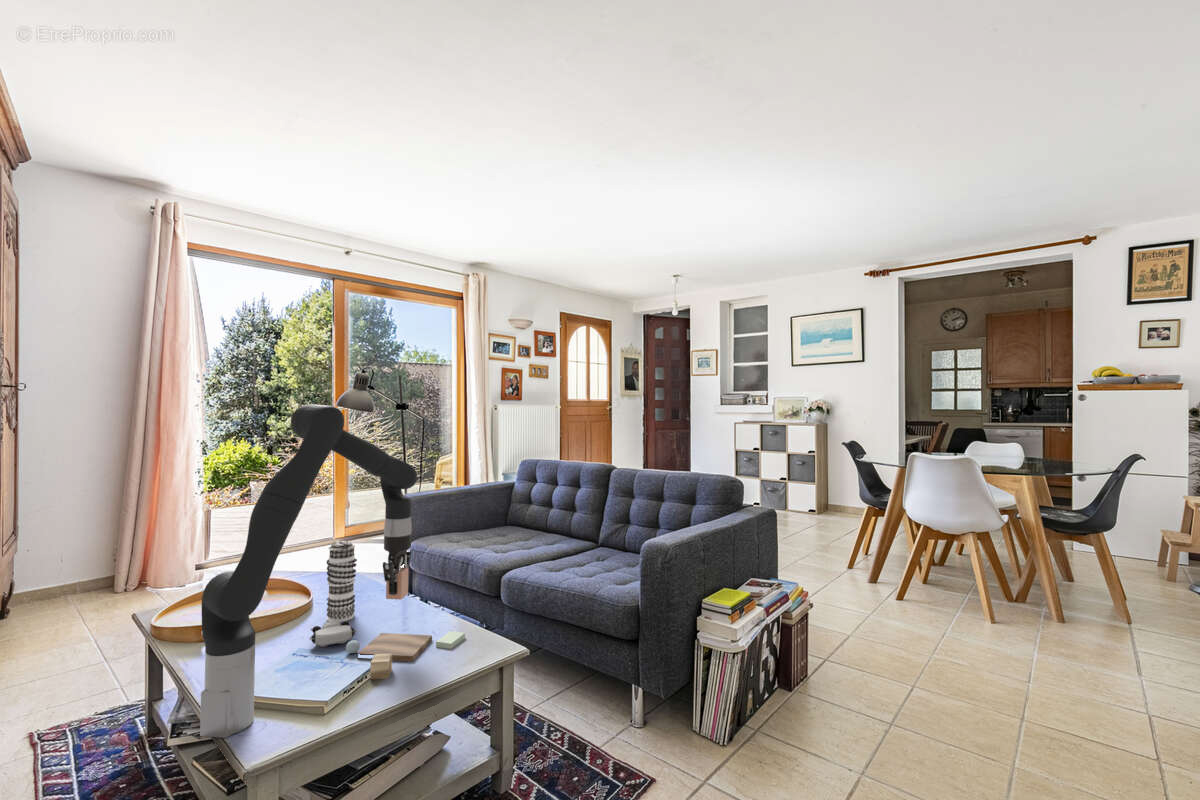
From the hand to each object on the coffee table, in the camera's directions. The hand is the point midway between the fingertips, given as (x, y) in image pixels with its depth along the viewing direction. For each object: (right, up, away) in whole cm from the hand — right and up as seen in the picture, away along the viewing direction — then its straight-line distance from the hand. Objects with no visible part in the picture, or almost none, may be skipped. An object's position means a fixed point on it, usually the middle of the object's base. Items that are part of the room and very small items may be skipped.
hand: (397, 591), depth 162 cm
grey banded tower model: (-27, -17, +23) cm, 40 cm away
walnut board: (0, -17, 0) cm, 17 cm away
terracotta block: (0, -2, 0) cm, 2 cm away
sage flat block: (+14, -18, +5) cm, 23 cm away
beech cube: (+2, -17, -15) cm, 23 cm away
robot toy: (-22, -17, +6) cm, 28 cm away
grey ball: (-11, -15, -3) cm, 19 cm away
